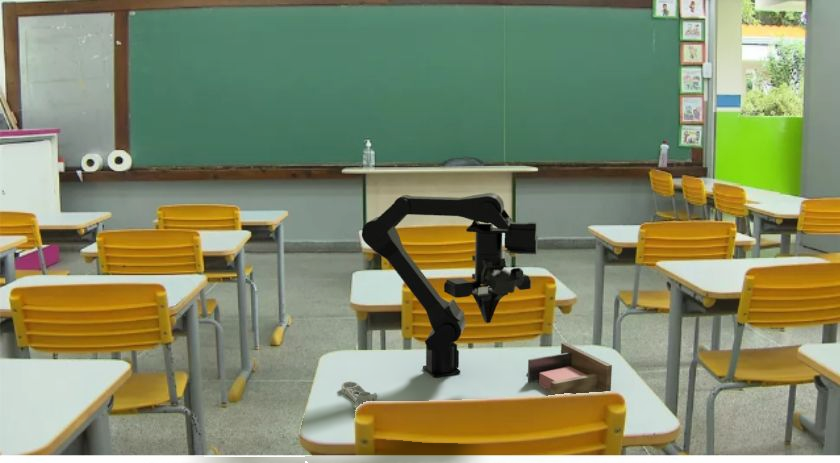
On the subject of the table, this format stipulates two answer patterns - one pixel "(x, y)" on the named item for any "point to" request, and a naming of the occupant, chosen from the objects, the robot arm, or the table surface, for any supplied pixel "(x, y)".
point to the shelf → (579, 360)
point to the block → (557, 376)
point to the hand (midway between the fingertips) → (487, 322)
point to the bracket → (354, 387)
